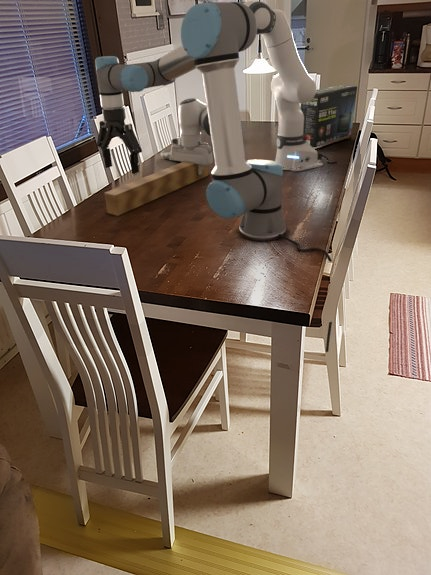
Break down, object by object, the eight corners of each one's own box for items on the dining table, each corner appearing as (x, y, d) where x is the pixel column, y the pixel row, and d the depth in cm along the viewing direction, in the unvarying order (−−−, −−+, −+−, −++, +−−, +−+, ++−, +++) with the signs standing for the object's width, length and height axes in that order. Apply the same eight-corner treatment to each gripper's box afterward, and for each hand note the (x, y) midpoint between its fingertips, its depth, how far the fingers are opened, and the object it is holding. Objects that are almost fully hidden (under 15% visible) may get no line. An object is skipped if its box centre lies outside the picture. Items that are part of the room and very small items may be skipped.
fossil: (184, 156, 217) (163, 136, 220) (174, 174, 223) (154, 154, 227) (205, 153, 231) (186, 134, 234) (195, 171, 237) (176, 152, 240)
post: (117, 215, 166) (114, 195, 162) (107, 212, 169) (103, 192, 165) (208, 175, 204) (208, 157, 200) (198, 173, 207) (198, 156, 203)
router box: (314, 151, 231) (318, 94, 217) (296, 148, 237) (299, 92, 224) (352, 138, 251) (358, 85, 238) (335, 135, 258) (340, 83, 245)
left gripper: (147, 108, 151) (154, 172, 162) (96, 103, 164) (106, 162, 175) (131, 112, 146) (139, 178, 157) (80, 106, 158) (90, 167, 169)
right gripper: (215, 141, 189) (216, 174, 196) (177, 136, 199) (179, 167, 206) (206, 145, 184) (207, 178, 191) (167, 139, 195) (170, 171, 202)
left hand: (121, 169), depth 166 cm, fingers open, 13 cm apart
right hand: (192, 173), depth 199 cm, fingers closed on post, 5 cm apart
